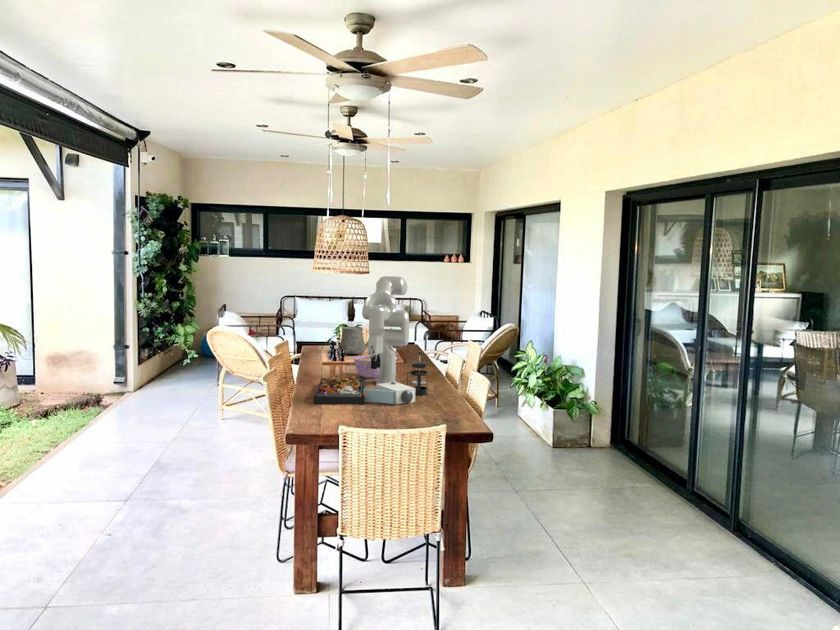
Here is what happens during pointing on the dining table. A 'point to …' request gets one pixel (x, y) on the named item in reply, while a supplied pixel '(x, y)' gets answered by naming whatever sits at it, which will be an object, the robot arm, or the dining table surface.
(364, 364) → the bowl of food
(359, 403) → the food platter
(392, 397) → the side door
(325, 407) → the dining table surface
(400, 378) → the dining table surface
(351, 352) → the vessel
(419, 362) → the french press
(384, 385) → the grey box with knob
